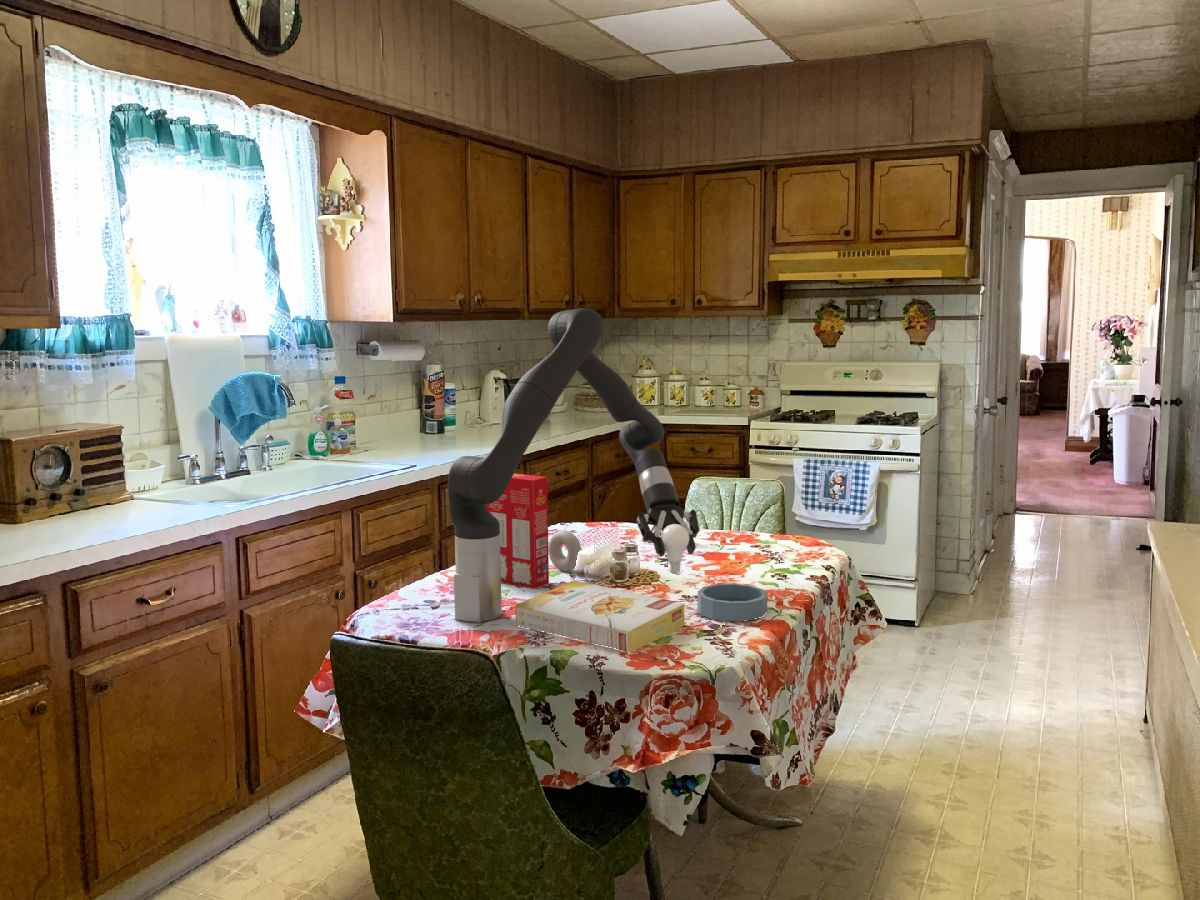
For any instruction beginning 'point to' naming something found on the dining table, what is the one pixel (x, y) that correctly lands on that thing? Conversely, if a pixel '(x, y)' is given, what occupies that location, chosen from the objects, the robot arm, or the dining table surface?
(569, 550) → the donut
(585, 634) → the cereal box
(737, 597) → the bowl
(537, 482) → the food packaging
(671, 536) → the lightbulb
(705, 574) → the dining table surface
